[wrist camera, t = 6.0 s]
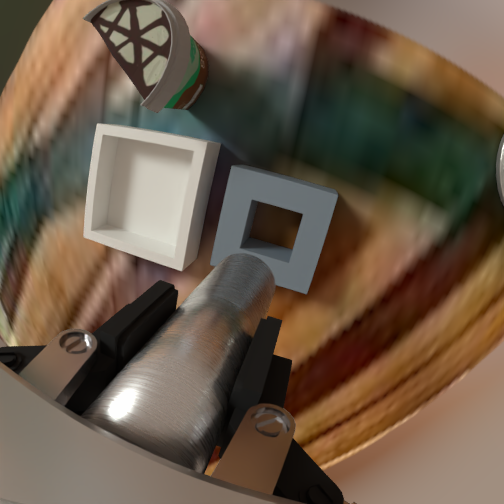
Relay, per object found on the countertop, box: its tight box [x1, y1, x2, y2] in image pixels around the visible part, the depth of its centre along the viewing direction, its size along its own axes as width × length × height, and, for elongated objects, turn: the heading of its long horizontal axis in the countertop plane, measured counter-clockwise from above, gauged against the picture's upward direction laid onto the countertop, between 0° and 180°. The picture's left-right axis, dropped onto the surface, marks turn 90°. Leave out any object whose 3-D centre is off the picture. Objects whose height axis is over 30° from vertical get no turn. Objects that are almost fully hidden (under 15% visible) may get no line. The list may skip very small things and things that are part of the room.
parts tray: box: [84, 124, 221, 271], centre depth 31 cm, size 12×12×4 cm
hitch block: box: [210, 164, 338, 294], centre depth 29 cm, size 9×9×4 cm
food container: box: [83, 0, 208, 113], centre depth 23 cm, size 12×6×10 cm, turn 35°
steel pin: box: [80, 253, 275, 474], centre depth 11 cm, size 3×3×12 cm
